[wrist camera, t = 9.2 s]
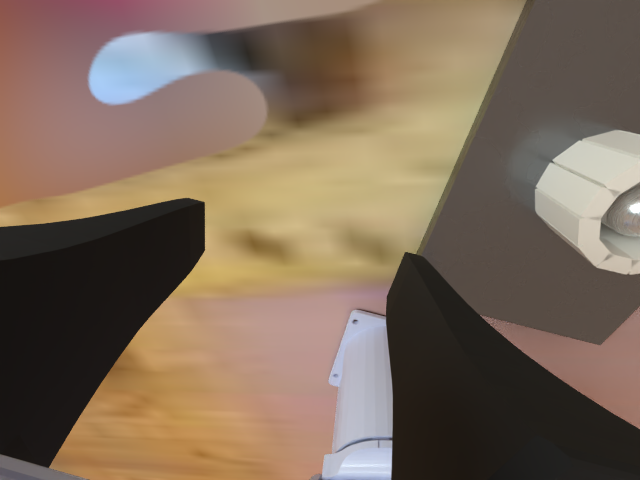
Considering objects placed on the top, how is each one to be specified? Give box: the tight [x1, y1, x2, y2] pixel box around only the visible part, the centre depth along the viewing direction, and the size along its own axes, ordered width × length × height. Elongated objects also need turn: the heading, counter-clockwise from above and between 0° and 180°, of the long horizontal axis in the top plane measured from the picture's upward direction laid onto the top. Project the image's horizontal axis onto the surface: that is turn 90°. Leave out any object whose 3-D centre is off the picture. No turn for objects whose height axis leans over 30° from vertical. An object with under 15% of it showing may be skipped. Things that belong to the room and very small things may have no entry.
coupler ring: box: [535, 130, 640, 275], centre depth 14 cm, size 6×6×4 cm
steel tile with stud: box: [416, 0, 640, 345], centre depth 14 cm, size 20×14×5 cm
